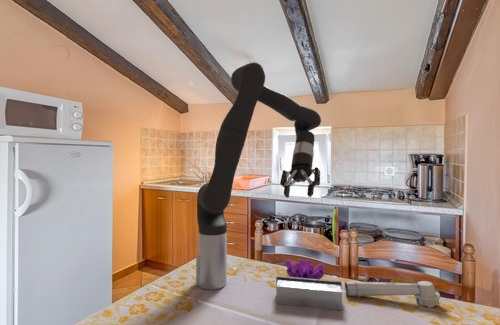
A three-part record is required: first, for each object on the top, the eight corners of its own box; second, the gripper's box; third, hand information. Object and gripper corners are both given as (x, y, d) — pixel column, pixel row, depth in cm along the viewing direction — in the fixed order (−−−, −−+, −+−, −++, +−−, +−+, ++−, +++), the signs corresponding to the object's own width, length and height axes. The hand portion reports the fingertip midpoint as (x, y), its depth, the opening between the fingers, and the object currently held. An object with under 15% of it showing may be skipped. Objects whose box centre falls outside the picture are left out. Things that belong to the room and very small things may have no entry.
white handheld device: (343, 278, 89) (433, 275, 83) (346, 299, 89) (436, 298, 83) (345, 285, 84) (440, 283, 78) (348, 308, 84) (444, 307, 78)
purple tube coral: (308, 282, 103) (324, 262, 101) (309, 302, 88) (329, 280, 87) (283, 262, 104) (299, 242, 103) (280, 278, 89) (299, 256, 88)
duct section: (274, 303, 81) (274, 283, 81) (276, 293, 86) (276, 275, 86) (343, 310, 77) (343, 290, 77) (341, 300, 83) (341, 281, 83)
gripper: (281, 153, 107) (274, 192, 99) (317, 149, 99) (313, 190, 92) (289, 163, 112) (283, 201, 104) (324, 159, 104) (321, 200, 97)
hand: (297, 196), depth 98 cm, fingers open, 8 cm apart
